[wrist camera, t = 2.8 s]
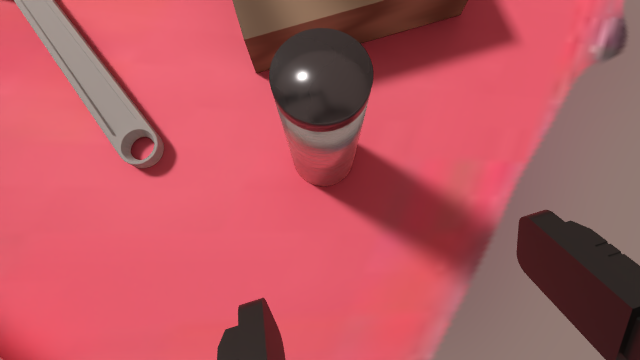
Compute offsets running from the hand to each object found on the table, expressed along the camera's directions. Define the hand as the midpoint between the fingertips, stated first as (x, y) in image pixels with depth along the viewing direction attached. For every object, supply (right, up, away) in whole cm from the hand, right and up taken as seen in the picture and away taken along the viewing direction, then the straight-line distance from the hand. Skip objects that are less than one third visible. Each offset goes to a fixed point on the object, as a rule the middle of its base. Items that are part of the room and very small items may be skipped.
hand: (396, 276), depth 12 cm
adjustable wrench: (-22, +13, +17) cm, 31 cm away
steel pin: (-2, +4, +14) cm, 15 cm away
